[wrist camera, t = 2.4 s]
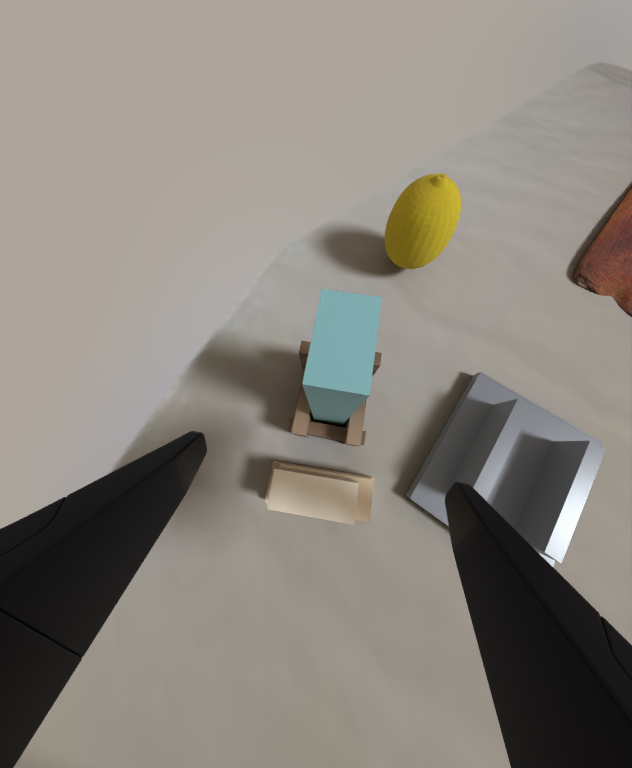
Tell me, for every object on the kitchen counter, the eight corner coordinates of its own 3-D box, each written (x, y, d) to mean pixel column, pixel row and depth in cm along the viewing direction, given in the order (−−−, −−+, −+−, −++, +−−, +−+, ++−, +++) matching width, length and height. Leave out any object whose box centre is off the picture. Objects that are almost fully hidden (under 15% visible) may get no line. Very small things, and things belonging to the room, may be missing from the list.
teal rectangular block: (341, 425, 20) (369, 395, 8) (314, 420, 20) (302, 384, 8) (348, 380, 21) (381, 297, 9) (322, 376, 21) (321, 289, 9)
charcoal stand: (529, 585, 16) (583, 621, 13) (405, 495, 18) (424, 507, 15) (588, 442, 19) (646, 442, 15) (473, 375, 20) (503, 361, 17)
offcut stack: (367, 517, 18) (375, 530, 15) (267, 499, 19) (257, 508, 16) (370, 476, 19) (379, 482, 16) (275, 460, 19) (266, 462, 16)
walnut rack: (360, 447, 19) (370, 447, 15) (290, 433, 20) (282, 430, 16) (370, 368, 21) (381, 350, 17) (305, 357, 21) (302, 338, 17)
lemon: (365, 267, 24) (386, 181, 16) (396, 233, 25) (429, 137, 17) (411, 296, 23) (457, 219, 15) (441, 259, 24) (498, 169, 16)
